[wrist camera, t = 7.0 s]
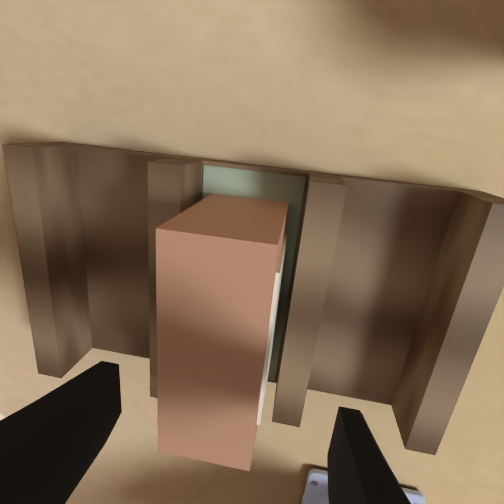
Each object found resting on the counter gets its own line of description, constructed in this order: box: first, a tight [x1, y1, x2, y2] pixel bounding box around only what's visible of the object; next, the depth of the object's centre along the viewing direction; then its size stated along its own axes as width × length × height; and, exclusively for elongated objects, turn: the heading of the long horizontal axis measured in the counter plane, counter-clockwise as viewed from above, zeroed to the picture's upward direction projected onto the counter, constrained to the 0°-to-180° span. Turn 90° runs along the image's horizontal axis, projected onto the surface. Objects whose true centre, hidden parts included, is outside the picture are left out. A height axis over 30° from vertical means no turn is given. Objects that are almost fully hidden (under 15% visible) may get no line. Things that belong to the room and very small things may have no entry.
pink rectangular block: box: [156, 193, 289, 471], centre depth 15 cm, size 4×10×7 cm, turn 175°
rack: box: [2, 142, 504, 455], centre depth 18 cm, size 13×22×4 cm, turn 84°
